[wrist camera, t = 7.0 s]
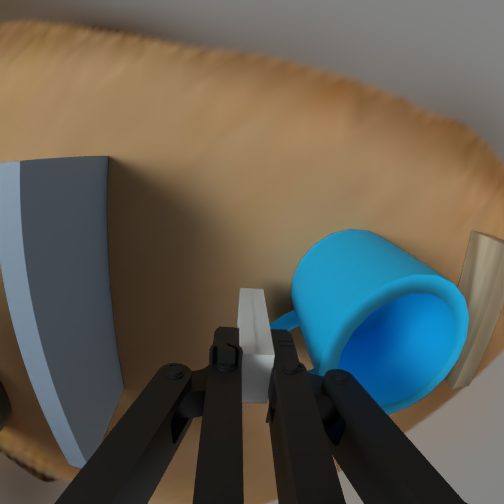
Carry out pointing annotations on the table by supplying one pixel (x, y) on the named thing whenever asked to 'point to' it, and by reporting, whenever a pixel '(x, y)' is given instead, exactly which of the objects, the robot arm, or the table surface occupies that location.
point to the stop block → (479, 302)
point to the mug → (377, 316)
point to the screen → (62, 293)
